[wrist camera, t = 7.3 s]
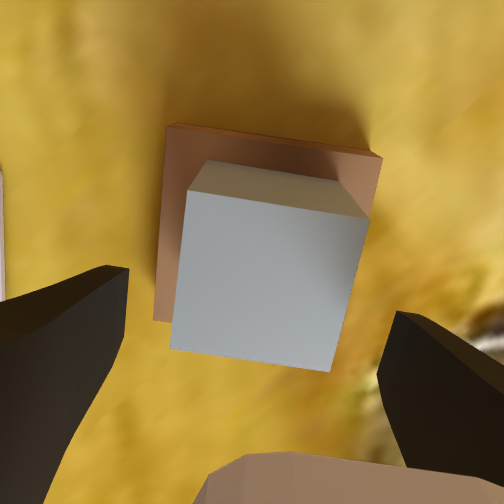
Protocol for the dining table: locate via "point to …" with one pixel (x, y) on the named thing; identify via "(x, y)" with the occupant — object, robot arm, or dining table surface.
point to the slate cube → (266, 266)
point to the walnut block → (253, 155)
